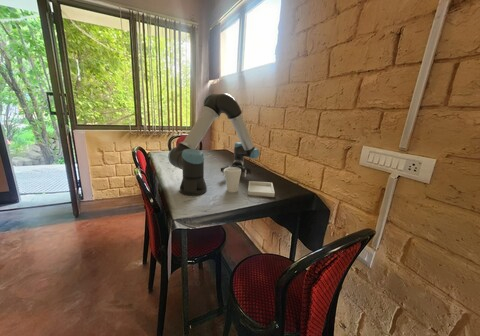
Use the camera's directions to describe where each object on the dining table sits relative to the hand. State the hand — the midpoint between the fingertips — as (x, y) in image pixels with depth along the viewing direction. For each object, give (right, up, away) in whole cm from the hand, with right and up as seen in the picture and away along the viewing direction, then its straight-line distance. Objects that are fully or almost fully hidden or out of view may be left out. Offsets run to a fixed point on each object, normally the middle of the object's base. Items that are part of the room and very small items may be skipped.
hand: (234, 174), depth 127 cm
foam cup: (-1, -10, -7) cm, 12 cm away
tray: (+16, -10, -5) cm, 19 cm away
